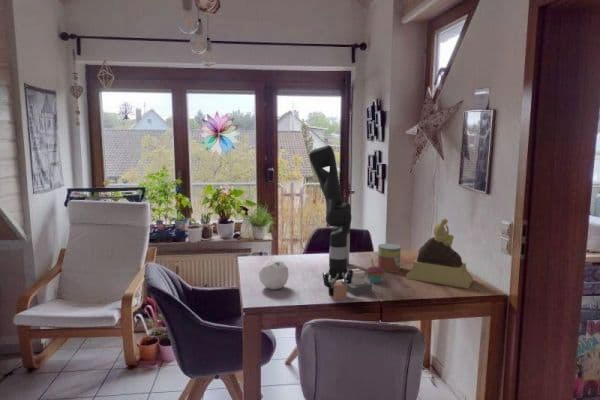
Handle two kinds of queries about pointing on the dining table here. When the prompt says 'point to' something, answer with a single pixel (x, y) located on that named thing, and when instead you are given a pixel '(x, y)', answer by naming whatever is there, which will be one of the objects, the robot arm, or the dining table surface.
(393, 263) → the canned food
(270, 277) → the geodesic sphere
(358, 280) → the cream cube
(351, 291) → the plinth
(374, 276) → the cupcake
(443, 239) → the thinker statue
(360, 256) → the dining table surface
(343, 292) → the terracotta cube
